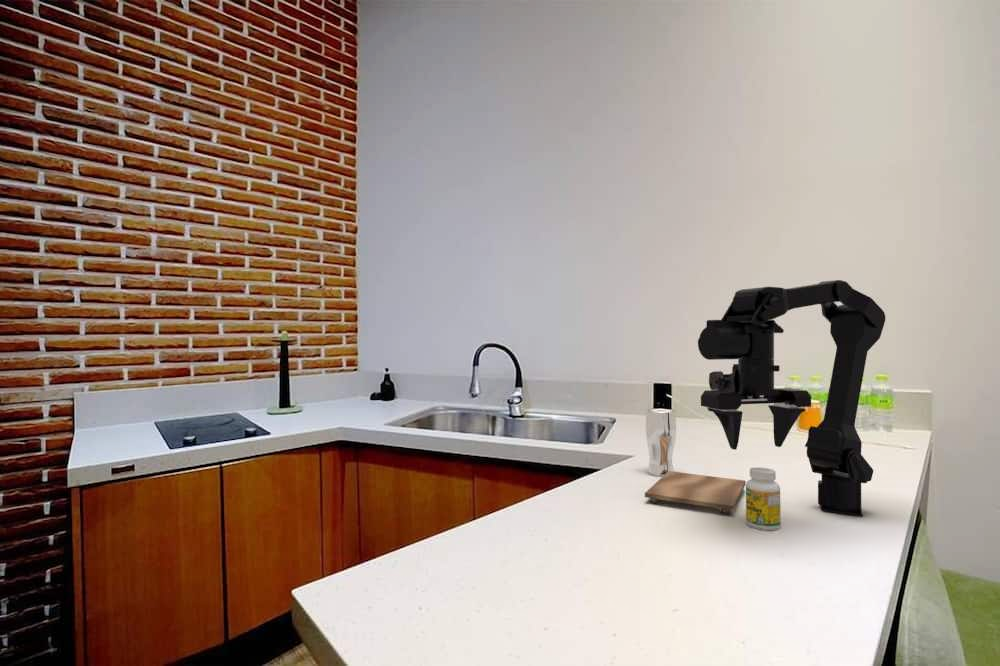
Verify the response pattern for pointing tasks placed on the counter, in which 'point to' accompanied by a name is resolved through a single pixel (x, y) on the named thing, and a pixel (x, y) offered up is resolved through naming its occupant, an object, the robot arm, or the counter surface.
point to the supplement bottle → (763, 500)
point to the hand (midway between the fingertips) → (756, 447)
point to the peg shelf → (697, 490)
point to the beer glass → (660, 440)
